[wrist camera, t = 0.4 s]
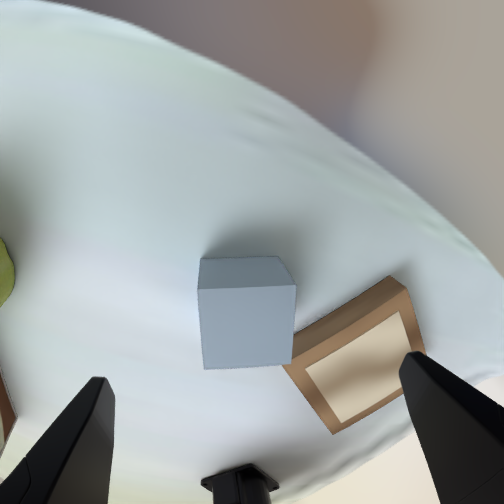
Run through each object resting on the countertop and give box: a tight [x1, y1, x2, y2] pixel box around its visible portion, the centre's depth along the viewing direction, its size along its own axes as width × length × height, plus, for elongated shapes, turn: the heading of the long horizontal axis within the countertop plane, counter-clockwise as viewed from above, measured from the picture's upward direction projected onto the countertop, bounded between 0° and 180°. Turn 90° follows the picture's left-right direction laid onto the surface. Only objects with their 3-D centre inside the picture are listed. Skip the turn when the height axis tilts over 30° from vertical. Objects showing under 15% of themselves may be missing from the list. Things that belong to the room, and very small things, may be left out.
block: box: [197, 256, 297, 370], centre depth 19 cm, size 5×5×5 cm
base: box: [282, 276, 426, 435], centre depth 23 cm, size 10×10×3 cm
